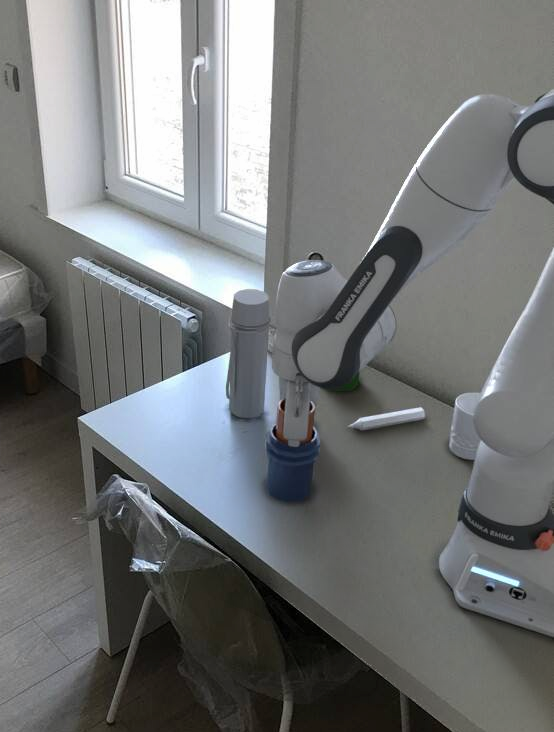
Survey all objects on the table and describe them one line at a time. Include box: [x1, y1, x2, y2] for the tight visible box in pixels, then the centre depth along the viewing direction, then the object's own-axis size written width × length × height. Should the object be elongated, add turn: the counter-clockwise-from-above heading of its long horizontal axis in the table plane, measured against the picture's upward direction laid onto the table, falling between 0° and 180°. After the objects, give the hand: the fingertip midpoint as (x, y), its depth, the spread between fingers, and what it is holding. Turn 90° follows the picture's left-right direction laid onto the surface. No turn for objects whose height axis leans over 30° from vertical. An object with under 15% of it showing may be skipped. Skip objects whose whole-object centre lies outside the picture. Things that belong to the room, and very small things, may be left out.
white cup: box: [448, 392, 481, 461], centre depth 154 cm, size 8×8×10 cm
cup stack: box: [265, 422, 319, 503], centre depth 146 cm, size 8×8×12 cm
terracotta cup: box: [275, 398, 316, 444], centre depth 142 cm, size 6×6×10 cm
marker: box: [347, 406, 426, 431], centre depth 164 cm, size 3×2×16 cm
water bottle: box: [225, 288, 272, 419], centre depth 162 cm, size 9×8×25 cm
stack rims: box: [265, 430, 321, 466], centre depth 144 cm, size 9×9×2 cm
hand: (294, 431), depth 142 cm, fingers closed on terracotta cup, 6 cm apart
